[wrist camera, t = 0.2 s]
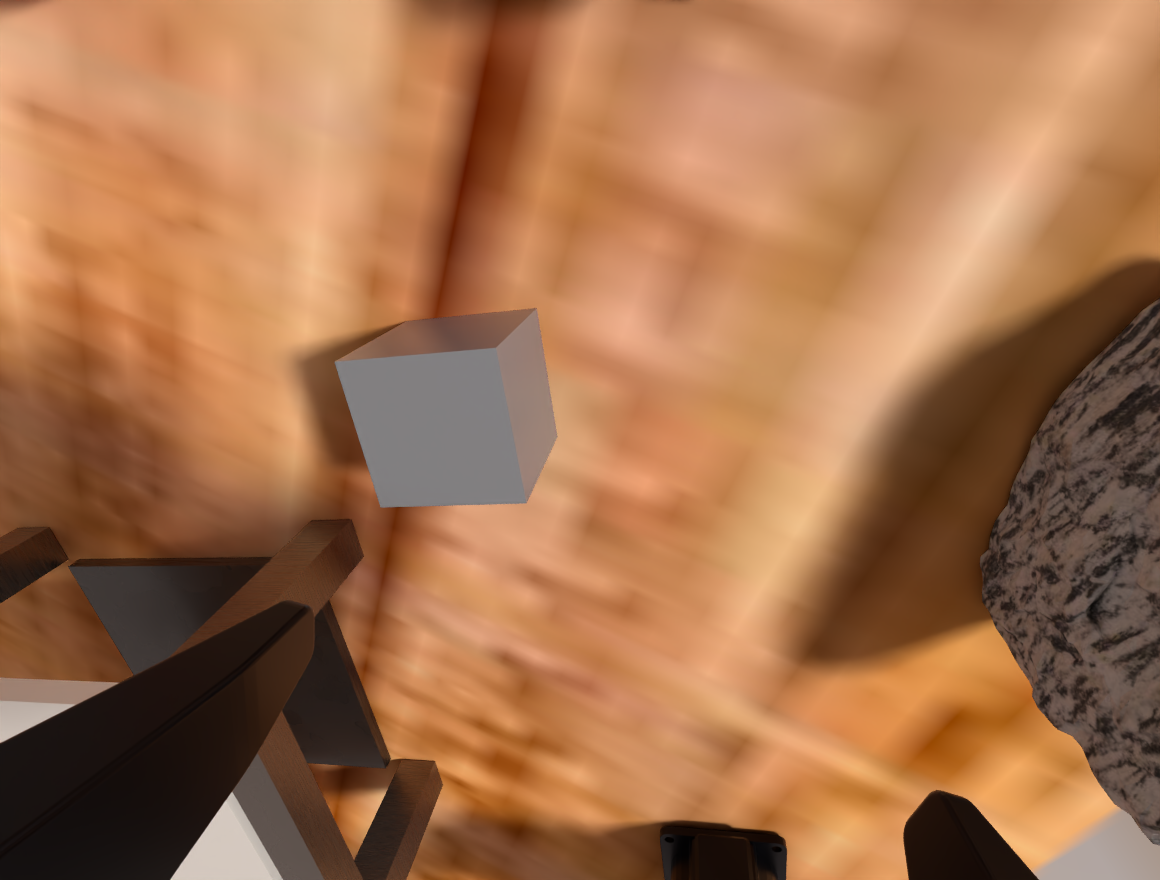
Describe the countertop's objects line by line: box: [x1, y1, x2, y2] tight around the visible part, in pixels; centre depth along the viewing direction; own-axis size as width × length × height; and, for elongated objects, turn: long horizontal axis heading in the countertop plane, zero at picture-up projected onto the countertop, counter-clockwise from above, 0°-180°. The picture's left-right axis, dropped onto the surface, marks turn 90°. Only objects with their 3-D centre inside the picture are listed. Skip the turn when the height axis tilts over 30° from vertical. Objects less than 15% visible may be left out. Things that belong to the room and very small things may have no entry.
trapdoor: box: [0, 678, 283, 880], centre depth 27 cm, size 18×14×5 cm
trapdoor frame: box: [0, 520, 443, 880], centre depth 28 cm, size 18×19×8 cm
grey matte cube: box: [335, 308, 557, 507], centre depth 20 cm, size 5×5×5 cm
